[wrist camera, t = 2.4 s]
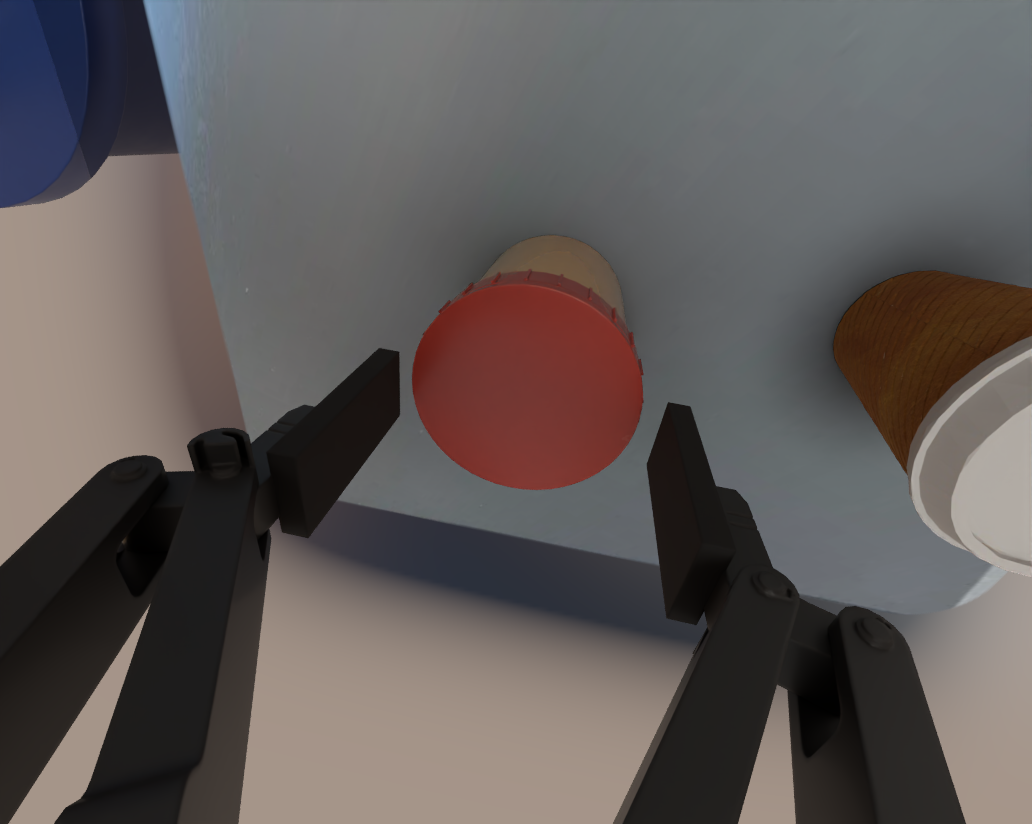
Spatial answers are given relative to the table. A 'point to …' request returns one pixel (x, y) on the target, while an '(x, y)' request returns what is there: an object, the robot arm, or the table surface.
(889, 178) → the table surface
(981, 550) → the disposable coffee cup
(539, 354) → the jar lid
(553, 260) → the honey jar
